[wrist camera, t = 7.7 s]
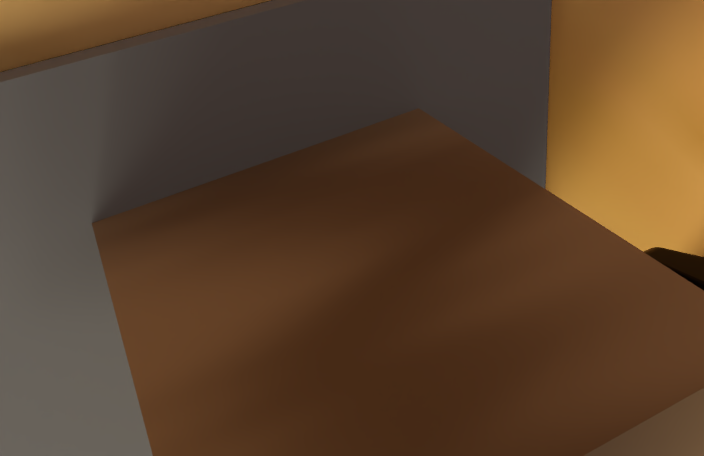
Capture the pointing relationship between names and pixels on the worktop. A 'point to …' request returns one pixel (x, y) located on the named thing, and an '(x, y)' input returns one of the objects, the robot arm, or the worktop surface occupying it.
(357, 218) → the walnut block
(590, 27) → the worktop surface
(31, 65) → the mat
